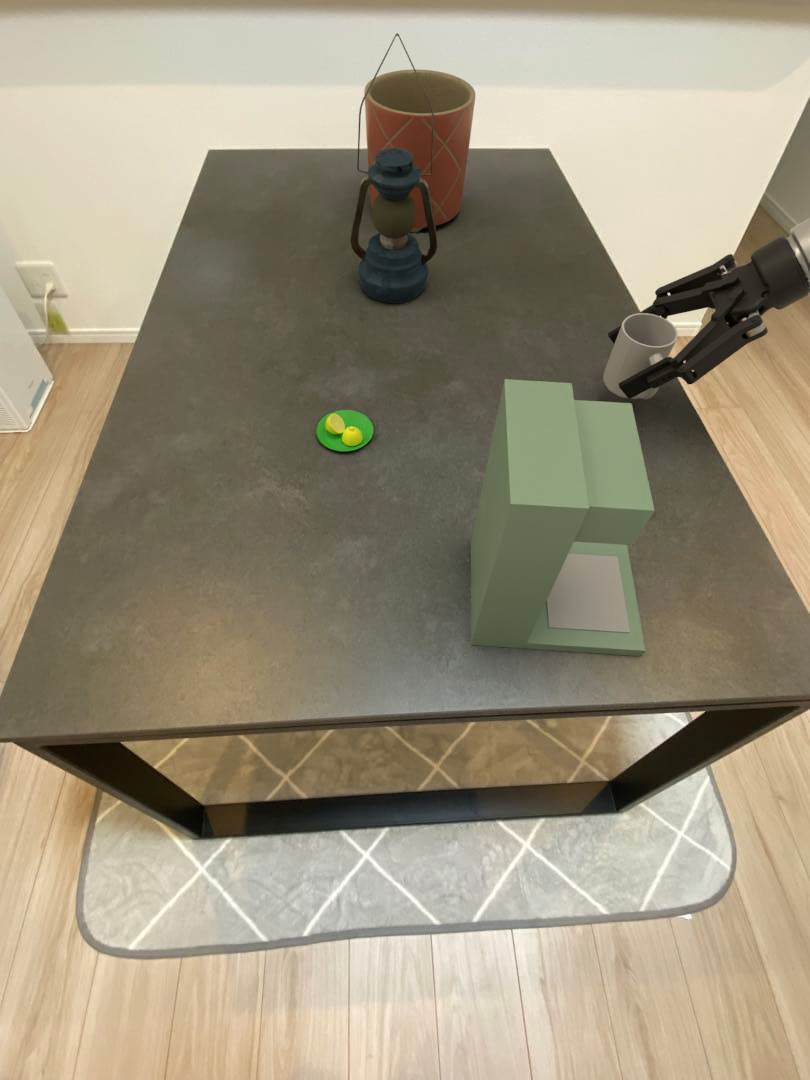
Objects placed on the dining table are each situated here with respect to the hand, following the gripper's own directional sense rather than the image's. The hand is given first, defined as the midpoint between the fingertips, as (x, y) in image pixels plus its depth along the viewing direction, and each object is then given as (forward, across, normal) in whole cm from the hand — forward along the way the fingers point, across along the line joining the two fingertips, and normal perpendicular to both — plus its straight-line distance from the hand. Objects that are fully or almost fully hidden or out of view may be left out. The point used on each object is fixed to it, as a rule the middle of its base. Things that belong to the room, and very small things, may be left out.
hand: (618, 365), depth 82 cm
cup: (+1, 0, -5) cm, 5 cm away
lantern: (+29, +28, +18) cm, 44 cm away
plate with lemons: (+32, -8, +20) cm, 39 cm away
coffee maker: (+13, -32, +1) cm, 35 cm away
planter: (+27, +54, +16) cm, 62 cm away
